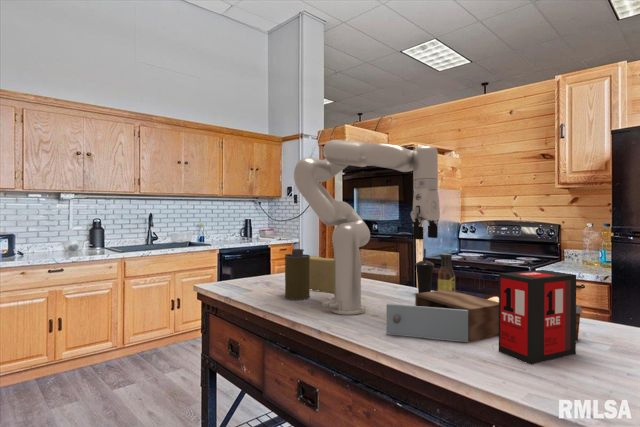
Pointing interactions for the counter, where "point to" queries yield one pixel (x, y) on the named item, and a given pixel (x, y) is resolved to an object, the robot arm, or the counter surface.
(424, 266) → the drinking cup
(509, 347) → the cleaning product box
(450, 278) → the sauce bottle
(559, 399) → the counter surface
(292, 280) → the canister
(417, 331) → the door
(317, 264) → the cheese
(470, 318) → the cabinet
